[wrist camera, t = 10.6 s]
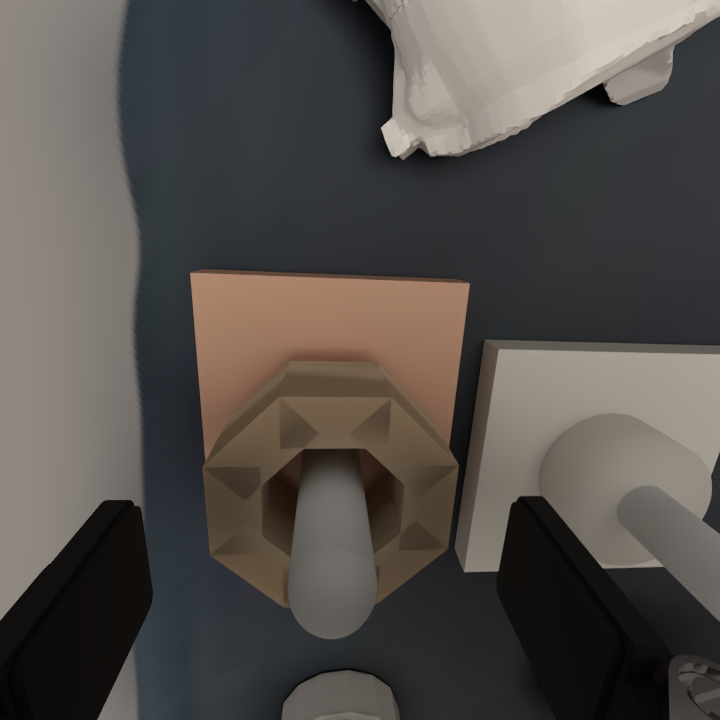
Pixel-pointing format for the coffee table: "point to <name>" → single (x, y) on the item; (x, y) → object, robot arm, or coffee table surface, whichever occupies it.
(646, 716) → the robot arm
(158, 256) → the coffee table surface
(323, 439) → the birch ring
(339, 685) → the white cup
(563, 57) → the white figurine
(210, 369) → the hub post
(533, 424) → the stand
